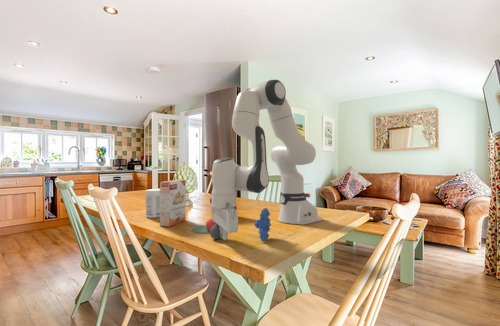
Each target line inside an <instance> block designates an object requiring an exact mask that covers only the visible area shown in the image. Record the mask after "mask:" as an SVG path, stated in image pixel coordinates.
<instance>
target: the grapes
mask: <svg viewBox="0 0 500 326" xmlns="http://www.w3.org/2000/svg"><path fill="white" fill-rule="evenodd" d="M270 215H271V213H270V211H269V209H268V208H267V207H264V208H263V209H262V210H261V212H260V215H259V219H256V221H254V223H253V225H254V226H255V229H258V230H259V231H258V234H259V238H260V240H261V242H266V241H267V239H268V238H269V237H270V234H269V231H270V230H271V226H272V224H271V219H270Z"/></svg>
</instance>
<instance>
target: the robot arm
mask: <svg viewBox="0 0 500 326" xmlns="http://www.w3.org/2000/svg"><path fill="white" fill-rule="evenodd" d="M286 94H287V92H286V88H285V85H284V84H283V83H282V81H280V80H279V79H269V80H267V81H264V82H260V83H258V84H256V85H253V86H252V87H249V88H247V89H246V90H242V91H241V92H239V93H238V95H237V96H236V100H235V103H234V107H233V112H232V117H231V127H232V129H233V131H234V133H236V135H238V136H239V137H241V138H243V139H246V140H248V141H250V143H251V145H252V165H251V166H243V165H240V164H237V163H236V162H235V159H234V158H232V157H220V158H216V159H215V160H214V161H213V163H212V167H211V168H212V169H211V183H212V191H211V197H210V198H209V204H210V209H211V210H210V211H211V219H212V220H213V221H214V222H215V223H216V224H218V225H219V228H220V233H221V238H220V239H223V240H224V241H225V240H228V239H229V238H228V237H229V234H232V233H233V234H234V233H237V232H238V231H239V217H238V212H237V209H236V210H235V209H234V207H235V206H236V207H237V191H241V192H249V193H255V194H260V193H262V192H263V191H264V190H265V189H266V188H267V187H268V185H269V182H270V180H269V179H270V178H269V172H268V165H267V164H268V163H267V162H268V161H267V145H266V144H267V142H266V135H265V130H264V129H263V127H261V125H260V110H261V111H262V110H267V114H268V117H269V118H268V119H269V121H270V125H271V127H272V131H273V135H275V137H276V138H277V139H278V140H280V141H281V142H282V143H281V144H278V145H275V146H274V147H273V148H272V149H271V151H270V157H271V160H272V162H274V163H275V164H276V167H277V169H278V172H279V174H280V184H281V191H280V210H279V215H278V218H277V221H279V222H281V223H284V224H290V225H291V224H293V225H308V224H312V223H318V222H321V221H323V217H322V216H319V213H318V209H317V207H316V206H315V205H314V204H312V202H310V201H309V200H308V199H307V198H311V193H308V192H307V193H305V190H304V186H305V185H304V177H303V175H302V174H301V173H300V172H299V171H298V169H297V166H304V165H309V164H312V163H313V162H314V161H315V159H316V155H317V151H316V149H315V146H314V145H313V144H312V143H310V142H308V141H307V140H306V139H305V138H304V137H303V136H302V134H301V133H300V131H299V130H298V128H297V125H296V122H295V119H294V115H293V112H292V109H291V107H290V104H289V102H288V100H287V98H286ZM235 190H236V191H235Z"/></svg>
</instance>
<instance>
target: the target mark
mask: <svg viewBox="0 0 500 326" xmlns="http://www.w3.org/2000/svg"><path fill="white" fill-rule="evenodd" d="M192 231H193V232H195V233H196V234H204V235H205V234H209V235H210V231H208V230H207V228H206V224H201V225H199V226H196V227H193V229H192Z"/></svg>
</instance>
